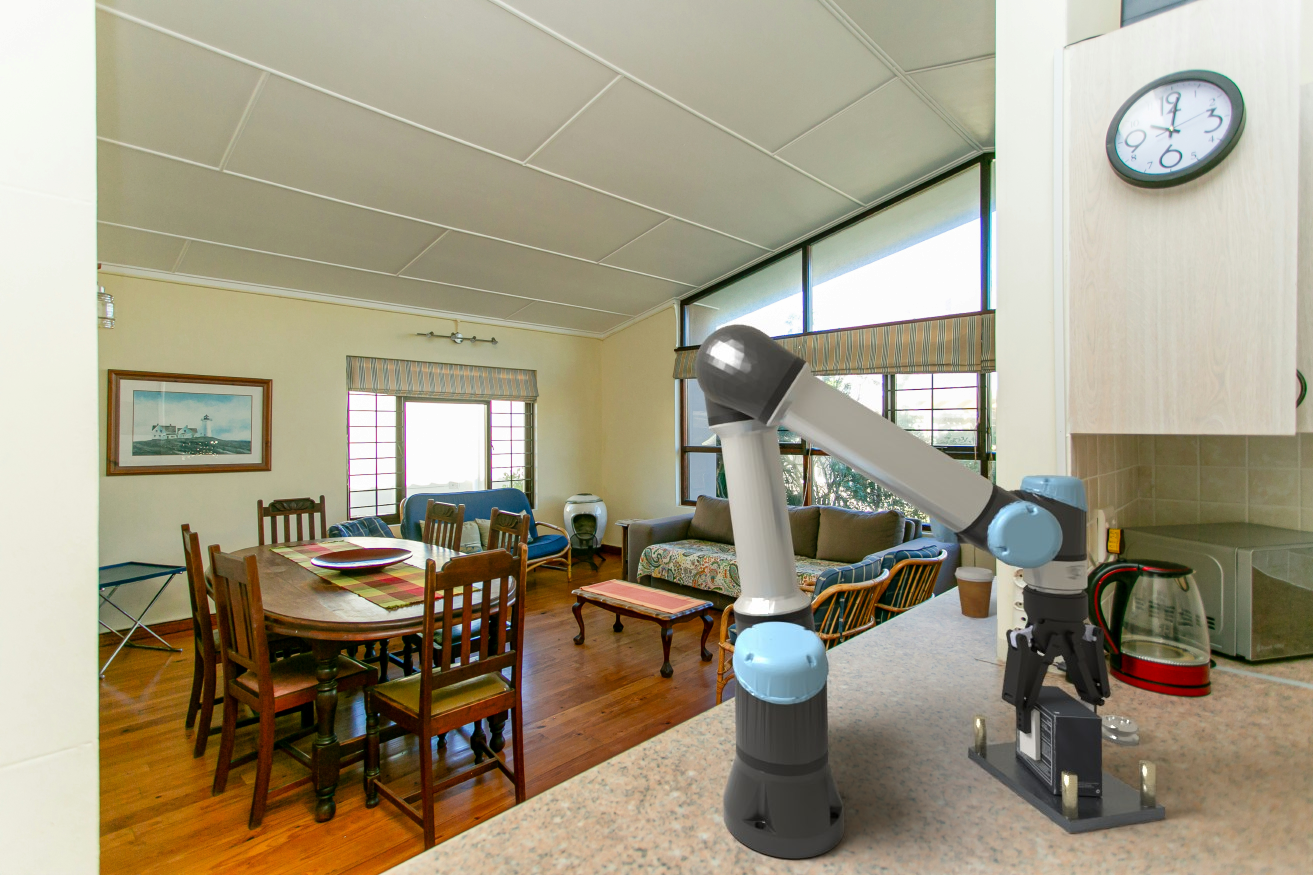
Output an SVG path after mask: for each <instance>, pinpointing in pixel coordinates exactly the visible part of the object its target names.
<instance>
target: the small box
mask: <svg viewBox="0 0 1313 875" xmlns="http://www.w3.org/2000/svg"><path fill="white" fill-rule="evenodd" d="M1024 699H1025V700H1026V698H1025V697H1024ZM1034 709H1036V710H1037V711H1039V712H1040V760H1034V759H1033V758H1031V757H1030V756H1028V755H1027V754H1025V753H1024V752H1022V751H1020V730H1018V729H1017V727H1016V726H1015V742H1016V752H1015V754H1016V755H1017V756H1018V757H1019V758H1020V759H1021V761H1022V762H1023V763H1024V764H1025V765H1026V766H1027V767H1028V768H1029V769H1030V770H1031V771H1032V772H1033V773H1034V774H1035V775H1036V776H1037V777H1038V778H1039V779H1040V780H1041V781H1042V782H1043V783H1044V784H1045V785H1046V786H1047V787H1048V789H1049V790H1050V791H1051V792H1052V793H1053V794H1057V795H1062V771H1071V772H1073V773H1075V774H1076V775H1077V791H1078V795H1080V796H1102V770H1103V738H1102V716H1100V715H1098V713H1097V714H1096V713H1094V712H1093V711H1092V710H1090V709H1089V708H1087V707H1086V706H1084V705H1083V704H1082V703H1080V702H1079V701H1077V700H1076V699H1075V697H1074V696H1071V695H1070V694H1069V693H1067V692H1066V691H1065V690H1063V689H1062V688H1060V687H1059V686H1058V685H1055V686H1054V685H1053V686H1052V685H1042V687H1041V690H1040V692H1039V695H1038V698H1037V701H1036V704H1035V707H1034Z"/></svg>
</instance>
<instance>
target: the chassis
mask: <svg viewBox="0 0 1313 875" xmlns="http://www.w3.org/2000/svg"><path fill="white" fill-rule="evenodd" d="M973 720H974V722H973V726H974V727H973V728H974V729H973V732H974V733H973V734H974V736H973V738H974V746H968V748H967V758H969V759H970V760H971V761H972V762H974V763H975V764H977V765H978V766H979V767H980V768H982V769H983V770H984V771H986V772H987V773H989V774H990V775H991V776H993V777H994V778H995V779H996V780H998V781H999V782H1001V783H1002V784H1003V785H1005V787H1007V788H1008V789H1010V790H1011V791H1012V792H1014V793H1016V795H1018V796H1019V797H1020V798H1021V799H1024V800H1025V802H1027V803H1029V804H1030V806H1033V807H1034V808H1035V809H1036V810H1038V811H1039V812H1040V813H1042V814H1043V815H1044V816H1045V817H1046V818H1048V819H1050V820H1051V821H1052V822H1054V824H1057V825H1058V826H1059V827H1061V829H1063V830H1064V831H1065V832H1067V833H1069V834H1070V835H1072V834H1079V833H1084V832H1091V831H1092V832H1093V831H1096V830H1104V829H1110V828H1117V827H1122V826H1123V827H1124V826H1128V825H1134V824H1136V825H1137V824H1140V823H1148V822H1153V821H1160V820H1166V806H1164V805H1162V804H1161V803H1160V802H1157V784H1156V783H1157V781H1156V780H1157V779H1156V777H1157V775H1156V773H1157V772H1156V771H1157V770H1156V769H1157V768H1156V767H1157V766H1156V764H1155V763H1154V762H1152V761H1150V760H1146V759H1140V760H1139V762H1138V765H1139V769H1138V771H1139V790H1137V789H1135V787H1133V786H1130V785H1129V784H1128V783H1126V782H1125V781H1123V780H1121V779H1119V778H1117V777H1116V776H1114V775H1112V774H1111V773H1109V772H1108V771H1105V770H1104V769H1102V796H1080V795H1078V791H1077V775H1076V774H1075V773H1073V772H1071V771H1062V795H1057V794H1053V793H1052V792H1051V791H1050V790H1049V789H1048V787H1047V786H1046V785H1045V784H1044V783H1043V782H1042V781H1041V780H1040V779H1039V778H1038V777H1037V776H1036V775H1035V774H1034V773H1033V772H1032V771H1031V770H1030V769H1029V768H1028V767H1027V766H1026V765H1025V764H1024V763H1023V762H1022V761H1021V759H1020V758H1019V757H1018V756H1017V755H1016V754H1015V752H1016V741H1009V742H1001V743H994V744H993V743H992V744H988V741H987V740H988V738H987V737H988V735H987V732H988V731H987V717H986V716H985V715H982V714H975V715H974V716H973Z"/></svg>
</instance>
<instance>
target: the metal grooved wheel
mask: <svg viewBox="0 0 1313 875" xmlns="http://www.w3.org/2000/svg"><path fill="white" fill-rule="evenodd" d="M1101 717H1102V740H1105V741H1106V742H1109V743H1111V744H1114V745H1117V746H1122V747H1131V748H1133V747H1136V746H1138V745H1140V744H1139V743H1140V737H1139V735H1137V734H1138V733H1139V732H1140V731H1139V726H1138V724H1137V723H1136V722H1134V721H1133V720H1131V719H1129V718H1127V717H1125V716H1121V715H1116V714H1115V715H1114V714H1105V715H1102V716H1101Z"/></svg>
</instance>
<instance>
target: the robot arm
mask: <svg viewBox="0 0 1313 875" xmlns="http://www.w3.org/2000/svg"><path fill="white" fill-rule="evenodd" d="M694 363H695V366H694V367H695V378H696V380H697V383H698V385H699V388H700V389H701V391H702V392H703V393H704V402H705V409H706V416H707V423H708V424H707V425H708V429H709V430H710V431H711V432H713V433H714V434H715V435H716V436H718V438H719V439H720V444H721V452H722V460H723V468H724V474H725V481H726V488H727V496H728V502H729V504H728V505H729V510H730V511H729V512H730V518H731V525H732V531H733V532H732V534H733V541H734V546H735V549H734V550H735V555H736V562H737V569H738V578H739V584H740V592H741V593H740V596H739V597H738V598H737V599H736V601H735V602H734V603H733V604H732V605H733V616H734V620H735V630H736V636H737V638H736V639H735V640H736V641H735V644H734V651H733V654H732V667H733V671H734V707H735V708H734V716H735V720H734V723H735V756H734V759H733V762H732V766H731V769H730V772H729V775H728V778H727V782H726V784H725V788H724V792H723V796H722V807H723V808H722V810H723V811H722V817H724V818H723V822H724V824H725V826H726V828H727V830H728V831H729V833H730V834H731V835H732V836H733V837H734V838H735V839H736V840H738V842H740V843H741V844H743V845H744V846H746V847H748V848H749V849H752V850H754V851H757V852H758V853H761V854H765V855H767V856H772V857H775V858H776V857H777V858H782V859H784V858H785V859H805V858H812V857H817V856H819V855H822V854H824V853H826V852H829V851H831V849H833V848H834V847H836V846H837V845H838V844H839V842H840V841H841V840H842V838H843V835H844V832H845V814H844V813H845V811H844V805H843V801H842V798H841V795H840V792H839V790H838V787H837V784H836V781H835V778H834V774H833V771H832V768H831V766H830V762H829V760H830V759H829V721H828V720H829V719H828V718H829V714H828V713H829V712H828V675H829V668H830V667H829V666H830V665H829V659H828V656H827V649H826V647H825V643H824V641H823V640H822V639H821V638H820V636H819V635H818V634H816V627H815V620H814V614H813V613H814V612H813V608H812V599H811V598H810V596H809V595H808V594H807V593H805V592H804V591H803V590H801V589H800V586H799V580H798V574H797V565H796V558H795V552H794V544H793V537H792V530H791V523H790V514H789V507H788V501H787V494H786V493H787V492H786V486H785V478H784V472H783V471H784V470H783V465H782V457H781V449H780V443H779V435H778V434H779V433H778V430H779V428H780V426H781V427H783V428H785V430H787V431H789V432H791V433H792V434H794V435H796V436H797V437H799V438H801V439H802V440H804V441H806V442H807V443H809V444H811V445H812V446H814V447H815V448H817V449H819V450H820V451H822V452H824V453H825V454H827V455H828V456H830V457H832V458H833V459H835V460H836V461H838V462H840V463H842V464H843V465H845V466H846V467H848V468H850V469H851V470H853V471H855V472H857V473H858V474H860V475H861V476H862V477H865V478H866V479H868V480H870V481H871V482H872V483H874V484H876V485H878V486H879V487H881V488H883V490H886V491H887V492H889V493H891V495H894V496H895V497H897V498H899V499H900V500H902V501H904V502H906V503H907V504H908V505H911V506H912V507H913V508H915V509H917V510H918V511H919V512H922V513H923V514H925V515H926V516H928V517H929V524H930V530H931V533H932V536H933V537H934V539H935V540H936V541H937V542H939V543H942V544H954V545H957V546H958V545H961V544H963V545H964V544H967V545H968V544H969V545H971V546H973V547H975V548H977V549H979V550H981V551H983V552H986V553H987V554H989V555H990V556H992V557H994V558H996V560H998V561H1000V562H1001V563H1004V564H1005V565H1007V566H1012V567H1016V568H1019V569H1022V581H1023V582H1024V583H1025V584H1026V585H1024V586H1023V588H1022V594H1023V595H1022V596H1023V597H1022V598H1023V600H1022V602H1023V603H1022V605H1023V607H1022V608H1023V611H1024V612H1025V614H1026V616H1027V621H1026V623H1025V626H1024V628H1023V629H1020V630H1016V631H1015V630H1013V629H1010V628H1009V629H1007V630H1006V632H1005V636H1006V641H1007V653H1006V660H1005V667H1004V675H1003V682H1002V684H1003V685H1002V691H1001V699H1002V700H1003V701H1004V702H1006V703H1008V704H1010V705H1011V706H1013V707H1015V728H1016V727H1017V729H1018V730H1020V751H1022V752H1024V753H1025V754H1027V755H1028V756H1030V757H1031V758H1033V759H1034V760H1040V712H1039V711H1037V710H1036V709H1034V707H1035V704H1036V701H1037V698H1038V695H1039V692H1040V690H1041V687H1042V686H1043V683H1044V680H1045V677H1046V675H1047V673H1048V670H1049V667H1050V666H1052V665H1053V664H1054V662H1055V659H1056V658H1059V657H1062V659H1063V662H1064V663H1065V667H1066V669H1067V671H1068V674H1069V676H1070V679H1071V681H1072V684H1073V686H1074V689H1075V690H1076V694H1077V696H1078V697H1074V698H1075V699H1076V700H1077V701H1079V702H1080V703H1082V704H1083V705H1084V706H1086V707H1087V708H1089V709H1090V710H1092V711H1093V712H1094V713H1096V714H1097V715H1098V711H1097V710H1098V707H1104V706H1105V704H1106V701H1105V699H1109V698H1110V696H1111V694H1112V693H1111V688H1110V687H1111V686H1110V681H1109V680H1110V679H1109V674H1108V669H1107V668H1108V667H1107V661H1106V655H1105V650H1104V639H1105V629H1104V628H1103V627H1100V626H1096V625H1094V624H1090V623H1088V622H1084V621H1086V620H1087V619H1088V618H1089V594H1088V593H1087V592H1086V591H1085V589H1087V588H1088V552H1087V551H1088V550H1087V548H1088V547H1087V546H1088V545H1087V544H1088V543H1087V542H1088V537H1087V536H1088V534H1087V532H1088V530H1087V529H1088V527H1087V526H1088V524H1087V523H1088V513H1089V509H1088V502H1087V500H1088V499H1087V492H1086V486H1085V483H1084V481H1083V480H1082V479H1080V478H1079V477H1076V476H1070V475H1048V474H1047V475H1041V474H1040V475H1039V474H1038V475H1026V476H1024V477H1023V478H1022V479H1021V484H1020V486H1019V489H1014V490H1012V489H1010V490H1006V489H1005V488H1003V487H1001V486H999V485H998V484H995V483H994V482H992V481H991V480H990V479H988V478H986V477H984V476H983V475H981V474H980V473H978V472H977V471H975V470H973V469H971V468H969V467H968V466H967V465H965V464H963V463H961V462H959V461H958V460H956V459H954V458H953V457H951V456H949V455H948V454H946V453H944V452H943V451H941V450H940V449H937V448H936V447H934V446H932V445H931V444H929V443H927V442H926V441H924V440H923V439H921V438H919V437H917V436H916V435H914V434H912V433H910V432H909V431H907V430H906V429H904V428H902V427H901V426H899V425H897V424H896V423H894V422H893V421H891V420H889V419H888V418H886V417H884V416H882V415H880V414H879V413H877V412H875V411H874V410H872V409H871V408H869V407H868V406H865V405H864V404H861V403H860V402H859V401H857V400H855V399H854V398H852V397H850V396H849V395H847V394H846V393H844V392H842V391H840V390H839V389H837V388H835V387H833V386H832V385H830V384H828V383H827V382H826V381H824V380H822V379H820V378H819V377H818V376H815V375H813V373H812V371H811V370H812V369H811V367H810V363H809V362H807V360H804V359H803V358H801V357H800V356H798V355H797V354H795V353H793V352H792V351H790V350H789V349H787V348H786V347H785V346H784V345H782V344H780V343H779V342H778V341H776V340H774V338H772V337H771V336H769V335H768V334H767V333H765V332H764V331H762V330H760V329H758V328H756V327H754V326H750V325H747V324H738V323H737V324H731V325H725V326H723V327H720V328H718V329H716V330H715V331H713V332H712V333H711V334H709V335H708V336H707V337H706V338H705V340H704V341H703V342H702V343H701V345H700V347H699V349H698V351H697V354H696V358H695V362H694ZM1040 653H1041V654H1040ZM1024 697H1025V698H1026V700H1025V699H1024ZM1104 698H1105V699H1104Z"/></svg>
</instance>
